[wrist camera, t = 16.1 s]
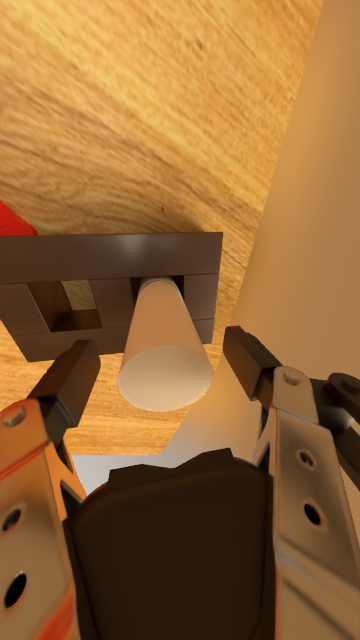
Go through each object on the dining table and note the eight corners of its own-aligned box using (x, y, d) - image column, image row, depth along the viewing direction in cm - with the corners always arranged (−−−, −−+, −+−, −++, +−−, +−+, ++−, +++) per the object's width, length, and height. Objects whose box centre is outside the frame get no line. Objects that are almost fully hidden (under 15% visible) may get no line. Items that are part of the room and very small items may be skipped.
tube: (173, 302, 22) (203, 408, 9) (141, 300, 21) (120, 414, 8) (176, 270, 20) (223, 345, 7) (141, 266, 19) (113, 344, 6)
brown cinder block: (4, 235, 16) (-54, 237, 11) (206, 231, 18) (223, 231, 14) (53, 336, 21) (28, 362, 17) (201, 323, 24) (212, 343, 20)
